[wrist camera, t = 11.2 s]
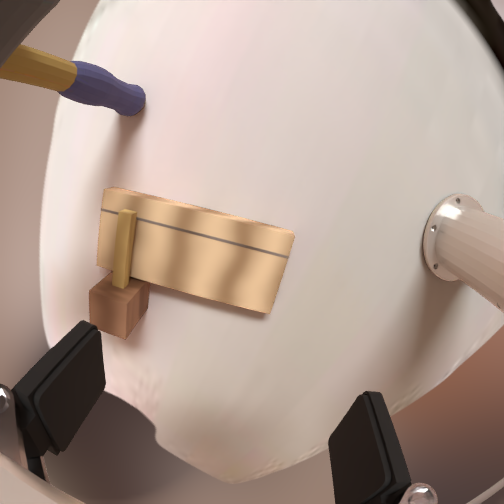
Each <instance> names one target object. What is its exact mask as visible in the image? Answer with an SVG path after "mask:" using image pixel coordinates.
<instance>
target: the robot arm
mask: <svg viewBox="0 0 504 504" xmlns="http://www.w3.org/2000/svg"><path fill="white" fill-rule="evenodd" d="M423 250H424V256H425V261H426V263H427V265H428V267H429V269H430V270H431V271H432V273H434V274H435V275H436V276H437V277H439V278H440V279H442V280H445V281H456V280H459V279H460V280H461V281H463V282H464V283H466V284H467V285H468V286H470V287H471V288H472V289H474V290H475V291H476V292H478V293H479V294H480V295H482V296H483V297H484V298H485V299H487V300H488V301H489V302H491V303H492V304H493V305H494V306H496V307H497V308H498V309H499V310H501V311H502V312H503V313H504V219H502V218H499V217H497V216H494V215H491V214H488V213H485V212H484V210H483V208H482V206H481V205H480V204H479V202H478V201H477V200H475V199H474V198H473V197H470V196H468V195H464V194H454V195H451V196H448V197H447V198H445V199H443V200H442V201H441V202H440V203H439V204H438V205H437V206H436V208H435V209H434V210H433V212H432V214H431V216H430V218H429V220H428V222H427V225H426V228H425V233H424V240H423ZM105 385H106V380H105V372H104V363H103V352H102V340H101V332H100V331H98V328H97V326H96V325H93V324H91V323H89V322H86V321H84V320H82V321H80V322H79V323H78V324H77V325H76V326H75V327H74V328H73V329H72V330H71V331H70V332H69V333H68V334H66V335H65V336H64V337H63V338H62V339H61V340H60V341H59V342H58V343H57V344H56V345H55V346H54V347H52V348H51V349H50V350H49V351H48V352H47V353H46V354H45V355H44V356H43V357H42V358H41V359H40V360H39V361H38V362H37V363H36V364H35V365H34V366H33V367H32V368H31V369H30V370H29V371H28V373H27V374H26V375H25V376H24V377H23V378H22V379H21V380H20V381H19V382H18V383H17V384H16V385H15V386H14V388H13V389H12V390H10V389H9V388H8V387H7V386H5V385H3V384H0V504H85V503H83V502H81V501H79V500H77V499H76V498H74V497H72V496H70V495H68V494H66V493H64V492H63V491H61V490H59V489H57V488H56V487H54V486H52V485H51V484H50V481H49V477H48V474H47V470H46V466H45V462H44V458H43V455H44V454H45V452H46V451H47V450H49V451H50V452H52V453H53V454H55V455H58V454H59V452H60V451H62V452H63V451H65V450H66V448H67V447H68V445H69V444H70V442H71V440H72V439H73V437H74V435H75V433H76V432H77V431H78V429H79V427H80V426H81V424H82V422H83V421H84V420H85V418H86V417H87V415H88V413H89V412H90V410H91V409H92V407H93V406H94V404H95V403H96V401H97V400H98V398H99V396H100V395H101V394H102V392H103V390H104V388H105ZM328 445H329V453H330V461H331V469H332V477H333V486H334V495H335V504H437V495H436V493H435V491H434V490H433V488H432V487H430V486H429V485H427V484H424V483H416V484H413V485H411V478H410V475H409V472H408V468H407V465H406V462H405V459H404V456H403V453H402V450H401V447H400V444H399V441H398V438H397V435H396V432H395V429H394V426H393V423H392V421H391V418H390V415H389V412H388V410H387V407H386V404H385V402H384V399H383V396H382V394H381V393H380V392H370V391H365V392H364V393H363V394H362V395H359V396H358V397H357V399H356V400H355V402H354V403H353V405H352V406H351V408H350V409H349V411H348V412H347V414H346V415H345V416H344V418H343V419H342V421H341V422H340V423H339V425H338V426H337V428H336V429H335V430H334V432H333V433H332V434H331V436H330V438H329V442H328Z"/></svg>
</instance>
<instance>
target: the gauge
mask: <svg viewBox="0 0 504 504" xmlns="http://www.w3.org/2000/svg"><path fill="white" fill-rule="evenodd" d="M136 217H137V212H136V211H131V210H127V209H124V210H121V211H119V214H118V222H117V230H116V239H115V250H114V262H113V271H112V272H111V273H110V274H108V275H107V276H106V277H105V278H104V279H102V280H101V281H100V282H99V283H98V284H96V285H95V286H94V287H93V288H92V289H91V290H89V313H90V323H91V324H93V325H96V326H97V328H98V330H101V331H104V332H106V333H109V334H112V335H114V336H117V337H120V338H123V339H125V340H126V338H127V337H128V335H129V334H130V333H131V331H132V330H133V328H134V327H135V325H136V324H137V322H138V321H139V320H140V318H141V317H142V315H143V314H144V313H145V311H146V310H147V308H148V300H149V291H150V282H147V281H144V280H141V279H137V278H134V277H131V276H130V266H131V256H132V247H133V239H134V231H135V224H136Z"/></svg>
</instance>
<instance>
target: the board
mask: <svg viewBox="0 0 504 504" xmlns="http://www.w3.org/2000/svg"><path fill="white" fill-rule="evenodd" d="M124 209H127V210H131V211H136V212H137V217H136V224H135V231H134V239H133V247H132V256H131V266H130V276H131V277H134V278H137V279H141V280H144V281H147V282H151V283H154V284H157V285H161V286H164V287H168V288H171V289H175V290H178V291H182V292H185V293H189V294H192V295H196V296H200V297H204V298H207V299H211V300H215V301H219V302H223V303H226V304H230V305H234V306H238V307H242V308H246V309H251V310H255V311H259V312H263V313H267V314H270V312H271V309H272V306H273V303H274V300H275V297H276V294H277V291H278V288H279V285H280V282H281V279H282V276H283V273H284V270H285V266H286V263H287V260H288V257H289V254H290V251H291V248H292V244H293V241H294V238H295V236H294V233H293V231H290V230H286V229H283V228H279V227H275V226H272V225H268V224H264V223H260V222H257V221H253V220H249V219H245V218H241V217H237V216H234V215H230V214H226V213H222V212H218V211H214V210H210V209H206V208H202V207H198V206H194V205H189V204H185V203H181V202H177V201H173V200H169V199H164V198H160V197H156V196H152V195H147V194H143V193H138V192H134V191H130V190H125V189H121V188H116V187H111V188H107V189H104V193H103V200H102V208H101V216H100V226H99V237H98V250H97V266H100V267H103V268H106V269H109V270H112V271H113V262H114V250H115V239H116V230H117V222H118V214H119V211H121V210H124Z"/></svg>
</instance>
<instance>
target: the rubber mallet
mask: <svg viewBox="0 0 504 504" xmlns="http://www.w3.org/2000/svg"><path fill="white" fill-rule="evenodd" d="M59 1H60V0H0V78H2V79H7V80H12V81H17V82H21V83H26V84H30V85H35V86H39V87H43V88H47V89H51V90H55V91H57V92H58V93H59V94H61V95H62V96H64V97H66V98H68V99H71V100H73V101H76V102H79V103H82V104H87V105H93V106H104V107H107V108H111V109H114V110H115V111H116V112H117V113H119V114H121V115H125V116H132V115H135V114H136V113H138V112H139V111H140V110H141V109H142V108H143V107H144V104H145V100H146V95H145V93H144V91H143V89H142V88H141V87H140V86H138V85H132V84H127V83H125V82H123V81H121V80H119V79H117V78H116V77H114V76H113V75H112V74H111V73H110V72H108V71H107V70H105V69H103V68H101V67H99V66H96V65H93V64H90V63H86V62H82V61H67V60H65V59H62V58H59V57H56V56H54V55H51V54H48V53H45V52H43V51H40V50H37V49H34V48H30V47H27V46H25V45H21V44H20V43H21V42H22V41H23V40H24V39H25V38H26V37H27V35H28V34H29V33H30V32H31V31H32V30H33V28H35V26H36V25H37V24H38V23H39V22H40V21H41V20H42V19H43V18H44V17H45V16H46V15H47V14H48V13H49V12H50V10H52V9H53V8H54V7H55V6H56V5H57V4H58V2H59Z"/></svg>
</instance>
